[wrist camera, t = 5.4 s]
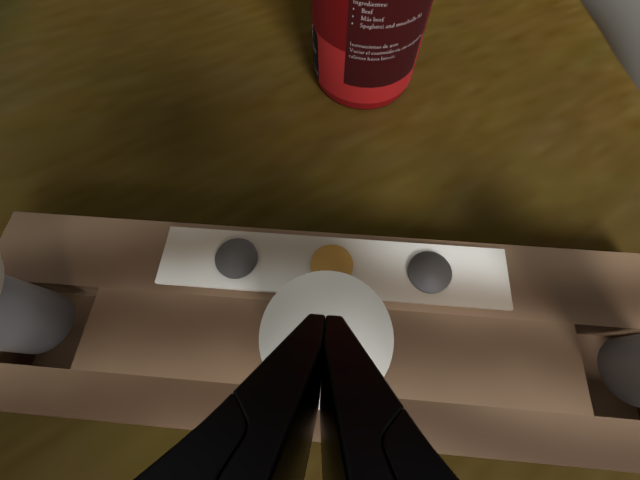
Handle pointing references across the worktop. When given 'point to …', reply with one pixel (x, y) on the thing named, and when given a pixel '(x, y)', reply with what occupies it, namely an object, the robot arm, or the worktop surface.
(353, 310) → the middle button
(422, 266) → the console
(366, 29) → the canned food
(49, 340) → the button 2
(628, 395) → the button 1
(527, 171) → the worktop surface
